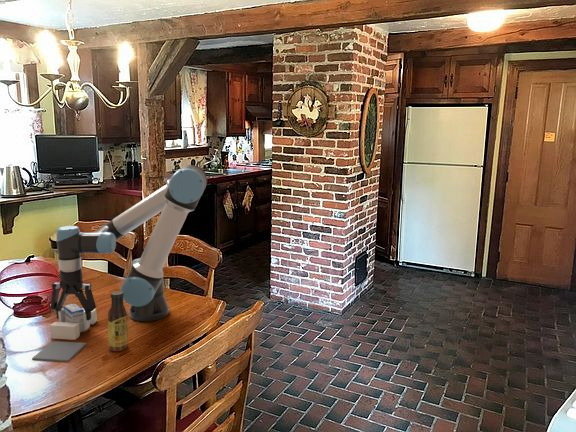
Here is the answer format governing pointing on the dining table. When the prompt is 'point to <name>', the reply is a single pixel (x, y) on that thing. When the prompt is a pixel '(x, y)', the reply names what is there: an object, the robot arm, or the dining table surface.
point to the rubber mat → (59, 351)
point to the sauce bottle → (117, 323)
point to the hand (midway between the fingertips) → (74, 327)
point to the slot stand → (69, 328)
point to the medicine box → (74, 315)
